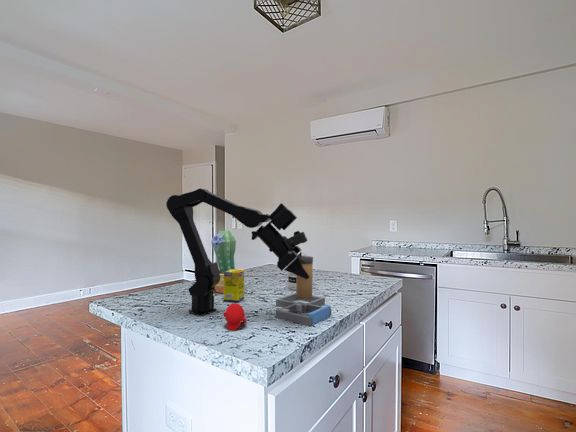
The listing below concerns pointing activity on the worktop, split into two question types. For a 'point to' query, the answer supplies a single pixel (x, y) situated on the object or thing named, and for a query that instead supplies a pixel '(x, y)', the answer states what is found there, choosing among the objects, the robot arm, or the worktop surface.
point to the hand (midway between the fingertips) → (308, 276)
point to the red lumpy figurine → (234, 316)
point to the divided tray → (302, 309)
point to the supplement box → (233, 285)
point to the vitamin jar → (305, 284)
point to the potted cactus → (224, 254)
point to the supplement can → (293, 278)
